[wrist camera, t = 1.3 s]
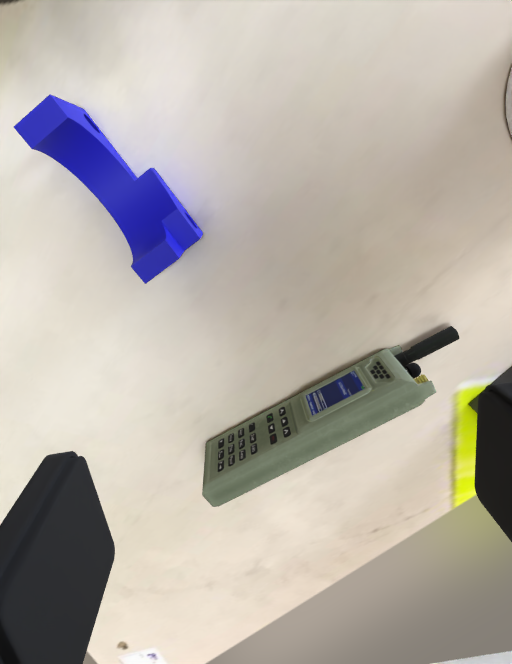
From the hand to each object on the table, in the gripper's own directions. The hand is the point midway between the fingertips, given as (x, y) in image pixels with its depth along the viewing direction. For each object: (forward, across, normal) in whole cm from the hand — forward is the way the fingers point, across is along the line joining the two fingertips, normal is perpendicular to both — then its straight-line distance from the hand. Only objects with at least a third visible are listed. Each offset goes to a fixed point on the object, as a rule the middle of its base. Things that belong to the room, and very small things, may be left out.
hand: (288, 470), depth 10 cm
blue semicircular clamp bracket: (+27, +8, -7) cm, 29 cm away
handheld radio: (+27, -5, +13) cm, 31 cm away
